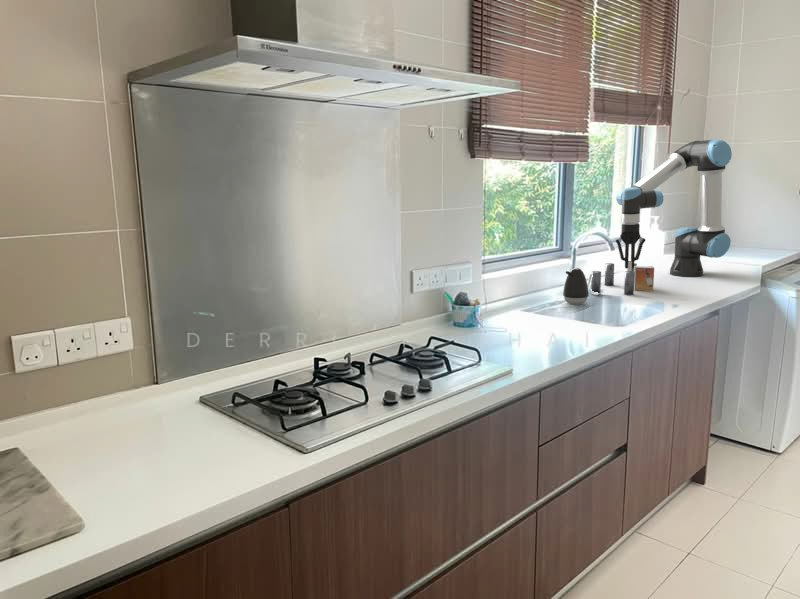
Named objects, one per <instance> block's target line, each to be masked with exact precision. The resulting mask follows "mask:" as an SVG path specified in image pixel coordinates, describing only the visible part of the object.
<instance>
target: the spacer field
mask: <svg viewBox="0 0 800 599" xmlns="http://www.w3.org/2000/svg"><path fill="white" fill-rule="evenodd" d="M604 265H605V266H604V267H605V268H604V286H607V287H611V286H614V284H615V283H614V282H615V280H614V279H615V277H614V276H615V263H613V262H612V263H611V262H610V263H605V264H604ZM634 266H638V264H637V263H635V262H634ZM591 275H593V277H592V280H591V281H590V283H591V284H590V290H591V289H592V291H594V292H598V293H600V294H601V290H602V289H601V288H602V286H601V285H602V282H601V280H602V271H600V270H593V271H591ZM634 276H635V272H634V268H632V271H627V270H625V271H624V286H623V287H624V288H623V291H624V292H623V294H624V295H625V296H634V294H635V292H634V291H635V290H634Z"/></svg>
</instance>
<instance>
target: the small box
mask: <svg viewBox="0 0 800 599" xmlns="http://www.w3.org/2000/svg"><path fill="white" fill-rule="evenodd" d="M634 272H635V276H634V291H647V292H653V291H654V280H655V267H654V266H653V265H637V266H634Z"/></svg>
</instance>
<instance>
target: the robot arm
mask: <svg viewBox="0 0 800 599" xmlns="http://www.w3.org/2000/svg"><path fill="white" fill-rule="evenodd" d="M731 148H732V147H731V146H730V144H729V143H728V142H726V140H723V139H722V140H721V139H707V140H704V139H703V140H694V141H691V142H688V143H686V144H684V145H683V146H681V147H679V148H678V149H676V150H675V151H674V152H672V153H671V154H669V156H668V159H666V160H665V161H663V162H662V163H661V164H659V165H658V166H657V167H656V168H654V169H653V170H652V171H650V172H649V173H648V174H646V175H645V176H643V177H642V178H641V179H640V180H638V181H637V182H635V183H634V184H633V185H631V187H626V188H624V189H620V190H619V191H617V194H616V196H615V198H616V200H615V201H616V202H617V205H620V206H621V223H622V224H621V231H620V232H621V233H620V236H619V237H617V238H615V239H614V241H615V244H617V248H618V252H619V253H618V254H619V257H620V260H621V261H624V268H625V269H626V271H632V268H634V263H635V262H636V261H638V260H639V259H640V256H641V253H642V249H643V245H644V244H645V242H646V238H645V237H642V236H641V234H640V222H641V221H640V220H641V210H642V209H655V208H659V207H661V205H663V203H664V197H665V196H664V195H663V194H664V193H662V191H661V190H656V189H657V188H658V187H660V186H661V185H662V184H664V183H665V182H666V181H668V180H669V179H670V178H671V177H673V176H675V175H676V174H678V172H682V171H685V170H686V169H688V168H691V167H697V169H696V170H697V173H699V174H700V225H699V227H683V228H678V229H677V230H676V232H675V237H674V238H675V239H674V240H675V241H674V243H675V244H674V258H673V262H672V264H671V267H670V268H669V274H670V273H671V274H670V275H672V276H677V277H687V278H689V277H690V278H691V277H693V278H694V277H700V276H703V275H704V268H703V265H702V264H703V263H702V260H701V256H702V257H708V258H711V259H712V258H721V257H723V256H725V255H726V253H727V252H728V251H729V249H730V248H731V236H729V234H728V233H726V230H725V229H726V227H725V226H723V225H722V189H723V188H722V185H723V184H722V182H723V181H722V180H723V178H722V174H723V172H724V171H725V170H726V166H727V165H728V164H729V163H730V161H731V159H732V155H733V153H732V149H731ZM622 241H623V243H624V252H623V248H622V244H621V243H622ZM637 242H638V247H637V250H635V249H636V243H637ZM629 247H630V248H629ZM629 251H630V256H629ZM635 252H636V253H635ZM629 257H630V260H629Z"/></svg>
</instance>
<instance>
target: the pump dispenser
mask: <svg viewBox="0 0 800 599" xmlns="http://www.w3.org/2000/svg"><path fill="white" fill-rule="evenodd" d="M565 274H566V275H567V276H566V279H565V282H564V285H563V286H564V287H563V294H562V295H563V298H564V300H565V302H566V303H567V304H568V305H571V306H581V305H583V304H585V303H586V302H587V300H588V298H589V295H590V294H589V286H588V282H587V281H588V280H587V278H586V274H585V273H584V272H583V270H582V269H581V268H579V267H573V268H571V269H570V271H568V270H566V271H565Z"/></svg>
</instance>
